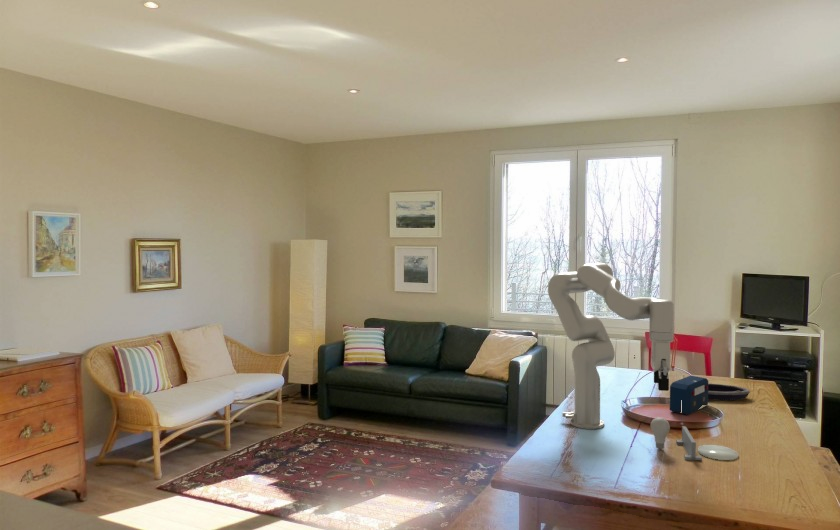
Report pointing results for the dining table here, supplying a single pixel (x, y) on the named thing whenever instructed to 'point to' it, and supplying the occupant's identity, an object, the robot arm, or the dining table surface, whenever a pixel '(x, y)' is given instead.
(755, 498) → the dining table surface
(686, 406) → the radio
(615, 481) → the dining table surface
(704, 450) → the white round dome
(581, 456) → the dining table surface
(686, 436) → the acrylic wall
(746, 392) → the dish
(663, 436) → the lightbulb
